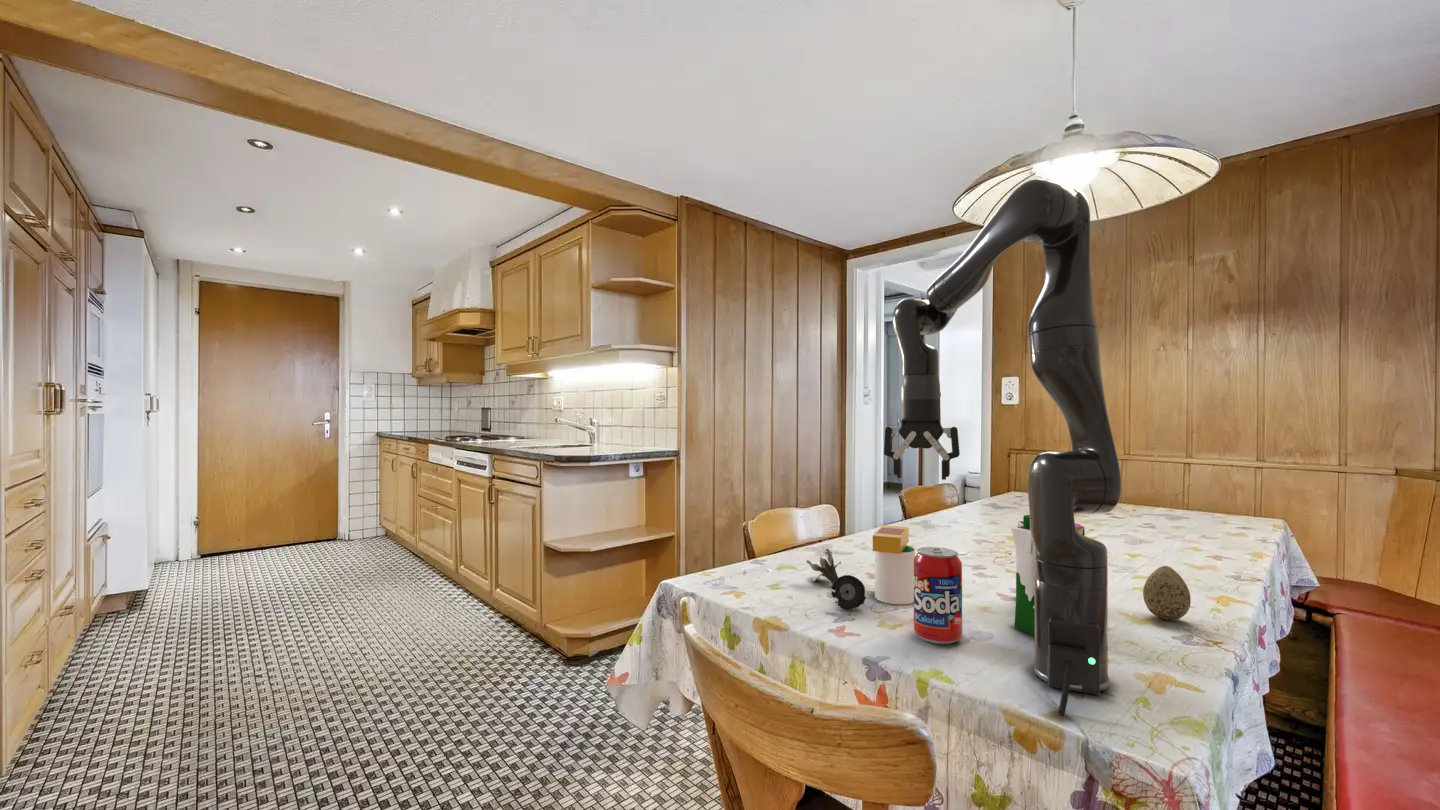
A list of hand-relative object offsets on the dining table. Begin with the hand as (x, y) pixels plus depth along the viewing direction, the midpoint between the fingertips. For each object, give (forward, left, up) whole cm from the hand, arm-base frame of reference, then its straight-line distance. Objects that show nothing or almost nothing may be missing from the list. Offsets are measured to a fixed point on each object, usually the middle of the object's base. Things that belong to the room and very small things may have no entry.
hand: (921, 478), depth 119 cm
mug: (+4, +7, -26) cm, 27 cm away
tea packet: (+4, +7, -15) cm, 17 cm away
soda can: (-17, -4, -26) cm, 31 cm away
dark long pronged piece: (+1, +18, -26) cm, 32 cm away
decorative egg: (+11, -42, -26) cm, 51 cm away
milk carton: (-6, -21, -26) cm, 34 cm away
